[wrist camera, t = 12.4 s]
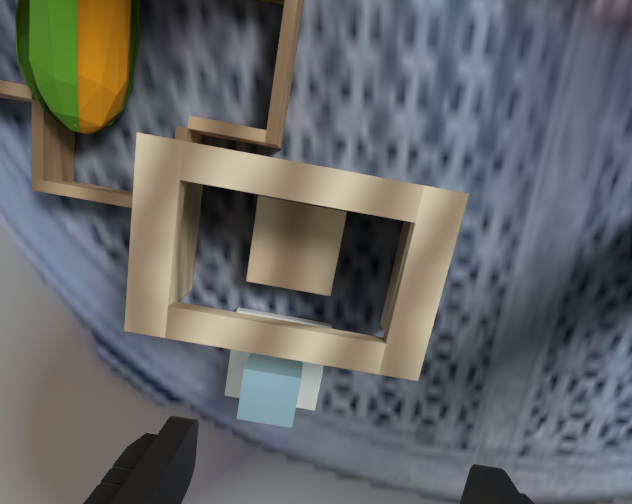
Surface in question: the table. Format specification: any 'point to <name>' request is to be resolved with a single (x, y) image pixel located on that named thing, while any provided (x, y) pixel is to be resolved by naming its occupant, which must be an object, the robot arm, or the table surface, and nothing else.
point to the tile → (309, 370)
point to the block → (270, 390)
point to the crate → (284, 253)
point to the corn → (78, 57)
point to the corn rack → (59, 143)
